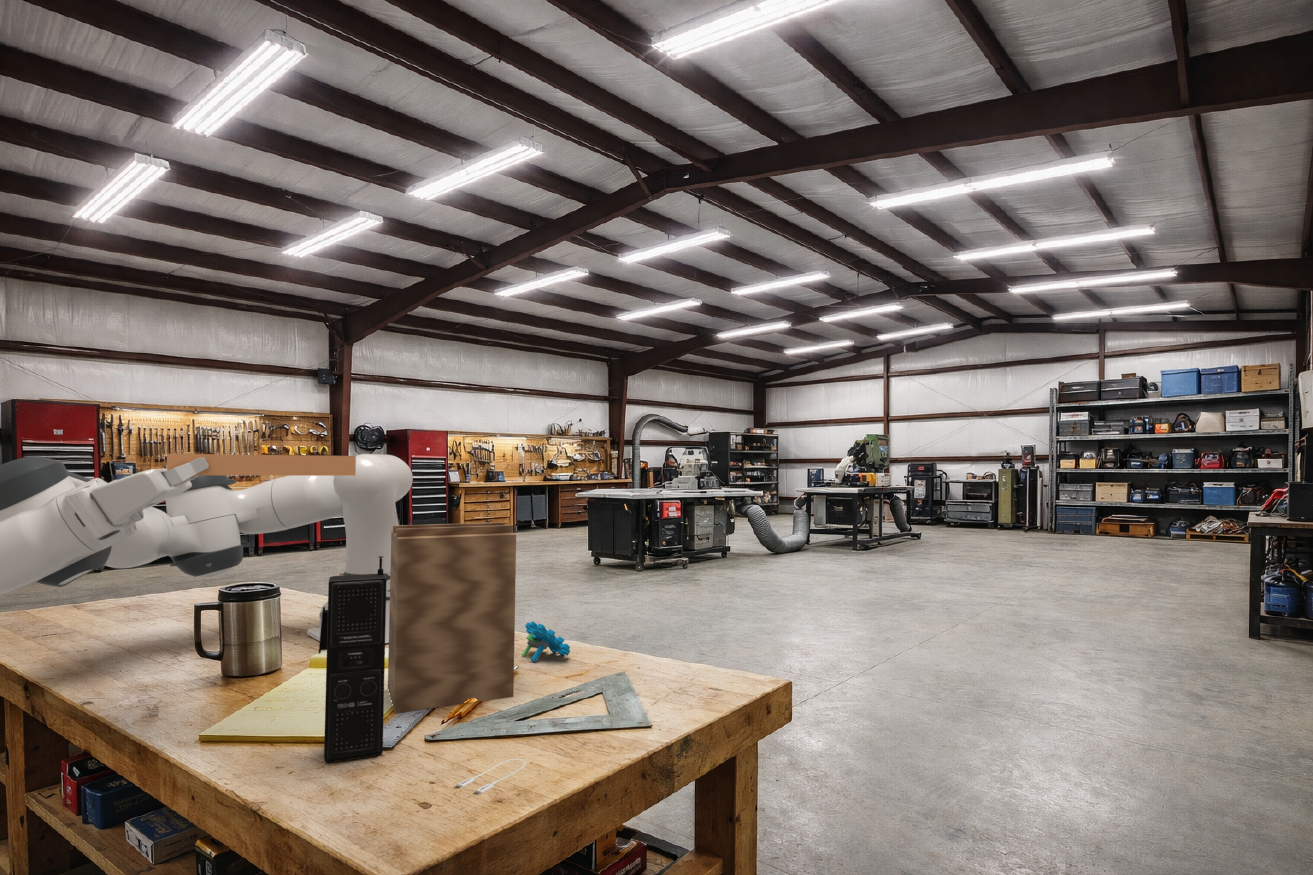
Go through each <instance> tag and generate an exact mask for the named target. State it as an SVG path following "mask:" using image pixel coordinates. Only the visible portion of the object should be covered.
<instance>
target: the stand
mask: <svg viewBox="0 0 1313 875" xmlns="http://www.w3.org/2000/svg"><path fill="white" fill-rule="evenodd" d="M516 560H517V534H516V533H513V525H511V524H505V522H501V521H500V522H474V523H473V522H471V523H470V522H468V523H438V524H437V523H436V524H433V523H431V524H404V525H403V524H401V525H400V524H399V525H395V526H393V531H391V570H390V612H389V643H388V654H387V656H388V659H387V660H388V663H387V665H388V666H387V667H388V668H387V690H388V689H389V692H388V694H389V693H390V696H391V699H390V701H391V700H392V703H391V705H392V704H393V707H392V710H393V713H394V714H399V713H407V712H414V711H420V710H421V709H422V710H426V709H425V708H429V709H435V708H442V707H449V706H456V705H462V703H464V702H465V701H467V700H468V699H471V698H473V697H474V698H476V699H477V700H478V702H477V703H479V702H485V701H491V700H493V701H494V700H500V699H506V698H514V691H515V688H514V685H515V683H514V681H515V637H516V636H515V634H516V632H515V631H516V630H515V629H516V627H515V625H516V624H515V622H516V618H515V617H516V576H517V575H516V574H517V572H516V571H517V569H516V568H517V565H516V564H517V562H516ZM390 696H389V697H390ZM422 710H421V711H422Z"/></svg>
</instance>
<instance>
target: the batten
mask: <svg viewBox="0 0 1313 875" xmlns="http://www.w3.org/2000/svg"><path fill="white" fill-rule="evenodd" d="M356 456H357V455H311V454H310V455H308V454H307V455H304V454H303V455H301V454H293V455H292V454H291V455H290V454H229V453H228V454H226V453H225V454H223V453H222V454H221V453H218V454H215V453H213V454H212V453H211V454H210V453H167V454H166V468H167V470H170V469H173V468H175V467H178V466H181V465H183V464H186V463H189V462H191V461H194V460H196V459H198V458H201V457H202V458H205V459H206V460H207V462H208V463H209V465H210V467H209V468H208V469H206V470H204V471H202V472H200V473H198V474H196V475H226V476H289V475H299V476H355V473H356Z"/></svg>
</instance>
